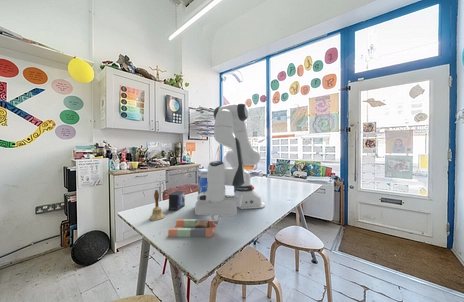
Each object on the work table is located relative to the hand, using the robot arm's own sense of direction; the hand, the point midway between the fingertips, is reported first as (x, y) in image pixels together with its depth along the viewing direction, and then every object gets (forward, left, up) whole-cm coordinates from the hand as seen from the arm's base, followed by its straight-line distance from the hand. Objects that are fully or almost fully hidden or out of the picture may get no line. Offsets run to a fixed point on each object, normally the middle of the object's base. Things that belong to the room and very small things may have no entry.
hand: (216, 223), depth 83 cm
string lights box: (+11, -31, -4) cm, 33 cm away
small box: (+30, -31, -4) cm, 44 cm away
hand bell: (+36, -15, -4) cm, 39 cm away
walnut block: (+7, 0, -4) cm, 8 cm away
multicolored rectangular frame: (+11, 0, -4) cm, 12 cm away
